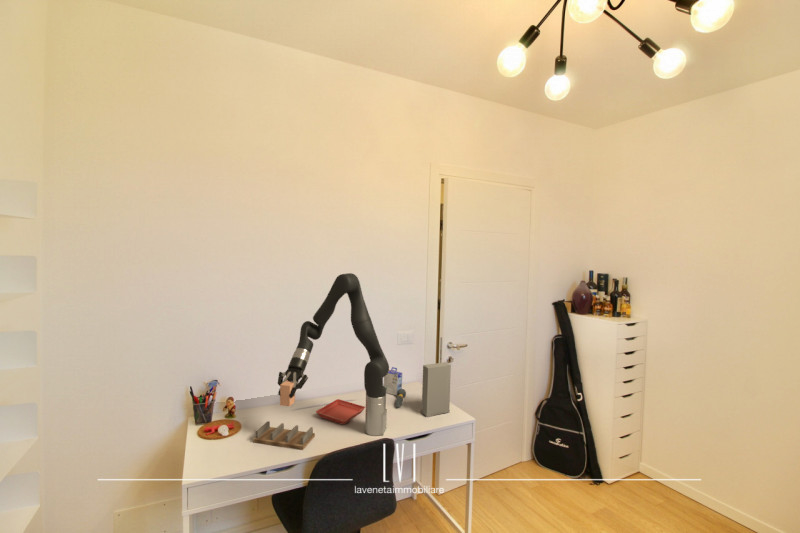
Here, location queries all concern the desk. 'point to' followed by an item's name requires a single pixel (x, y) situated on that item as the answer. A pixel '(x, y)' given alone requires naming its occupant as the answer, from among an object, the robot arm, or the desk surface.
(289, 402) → the terracotta block
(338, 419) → the plant saucer
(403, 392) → the flashlight
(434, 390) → the tall grey upright block
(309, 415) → the desk surface
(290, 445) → the walnut rack
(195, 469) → the desk surface
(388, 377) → the ink cartridge box
